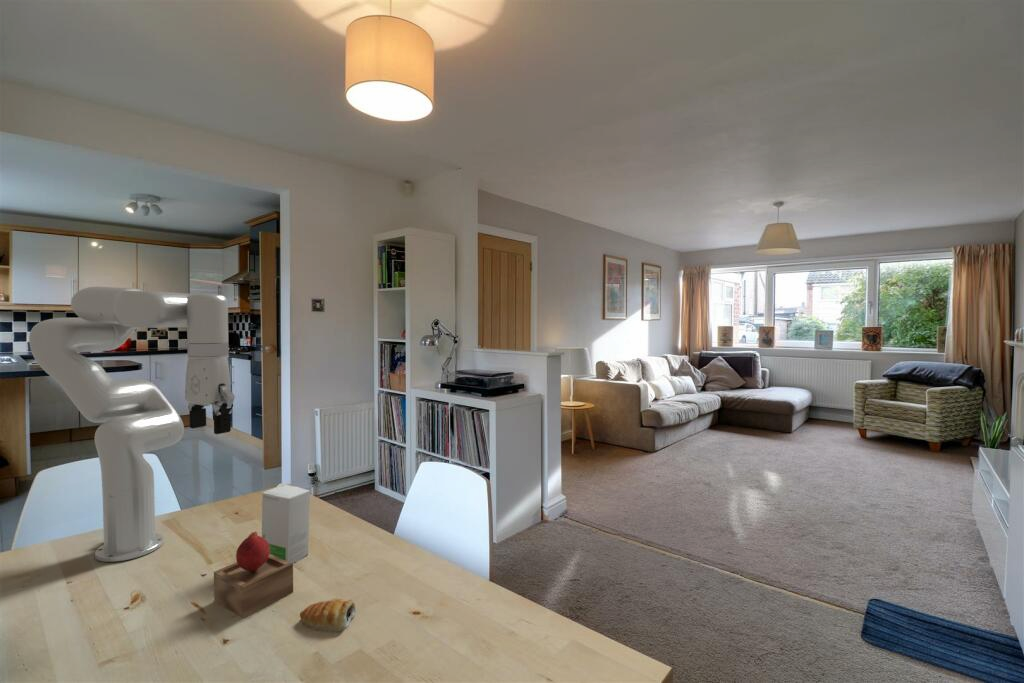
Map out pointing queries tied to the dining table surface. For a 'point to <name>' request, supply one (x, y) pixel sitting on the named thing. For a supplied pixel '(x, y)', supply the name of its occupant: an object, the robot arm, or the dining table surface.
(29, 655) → the dining table surface
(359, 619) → the dining table surface
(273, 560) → the wooden crate
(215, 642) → the dining table surface
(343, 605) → the pastry
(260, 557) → the onion
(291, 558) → the skincare box
